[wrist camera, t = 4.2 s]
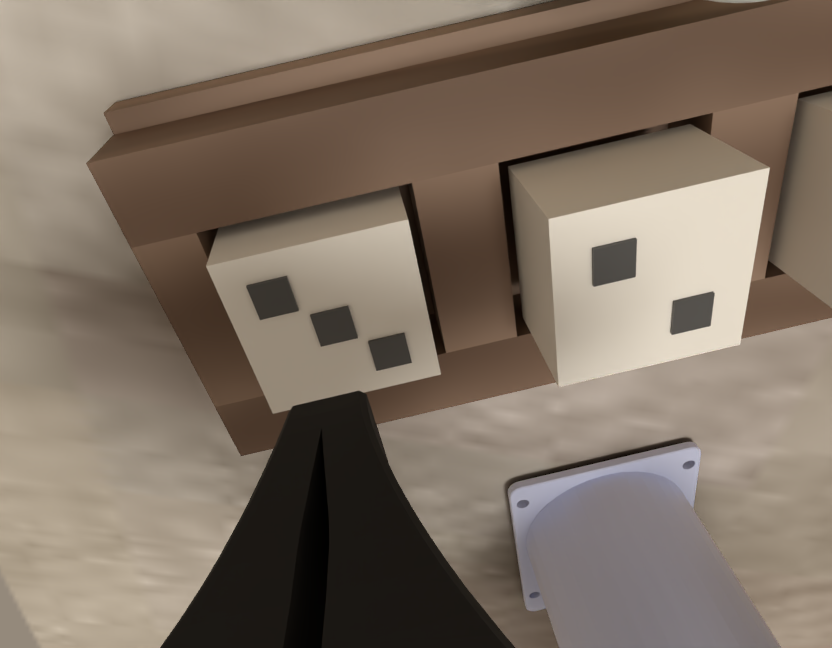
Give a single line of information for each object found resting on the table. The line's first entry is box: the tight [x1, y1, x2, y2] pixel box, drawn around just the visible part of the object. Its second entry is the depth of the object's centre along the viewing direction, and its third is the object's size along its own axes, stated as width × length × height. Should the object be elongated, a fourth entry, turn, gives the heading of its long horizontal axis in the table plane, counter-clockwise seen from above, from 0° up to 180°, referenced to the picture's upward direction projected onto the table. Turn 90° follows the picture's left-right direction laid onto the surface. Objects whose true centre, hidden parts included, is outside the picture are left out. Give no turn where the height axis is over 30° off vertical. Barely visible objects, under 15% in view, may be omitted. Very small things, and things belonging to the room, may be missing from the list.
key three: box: [206, 186, 441, 414], centre depth 15 cm, size 4×4×3 cm
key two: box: [508, 124, 770, 387], centre depth 14 cm, size 4×4×3 cm
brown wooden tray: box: [86, 0, 832, 456], centre depth 16 cm, size 10×22×3 cm, turn 101°
